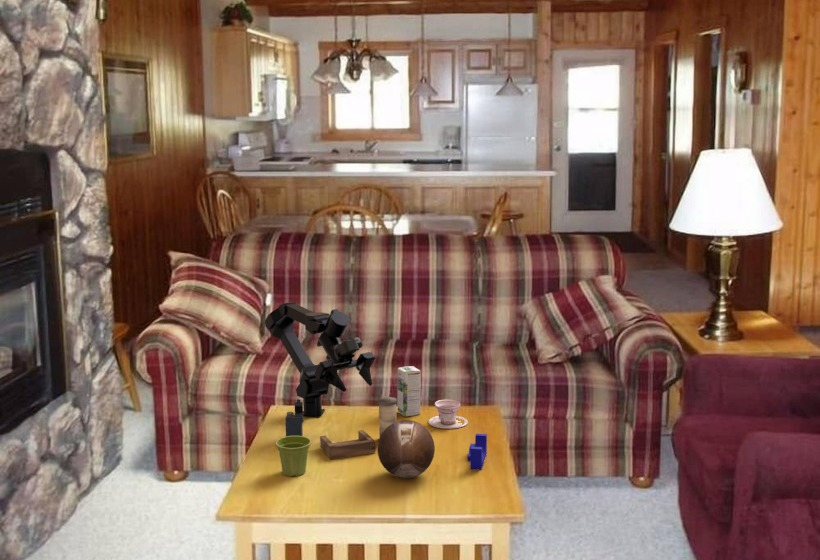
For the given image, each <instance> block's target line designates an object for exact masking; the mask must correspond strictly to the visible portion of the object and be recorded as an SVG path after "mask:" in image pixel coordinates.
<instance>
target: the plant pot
mask: <svg viewBox="0 0 820 560" xmlns="http://www.w3.org/2000/svg"><path fill="white" fill-rule="evenodd" d="M311 444H312V440H311V438H309V437H307V436H304V435H303V436H287V437H286V436H283V437H280V438H278V439H277V440H276V441H275V445H276V447H277V450H278V452H279V458H280V464H281V471H282V474H283V475H284V476H288V477H293V476H297V477H300V476H302V474H303V475H304V474H305V473H306V471H307V464H308V463H307V462H308V453H309V449H310V445H311ZM299 475H300V476H299Z"/></svg>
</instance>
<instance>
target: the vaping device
mask: <svg viewBox="0 0 820 560" xmlns="http://www.w3.org/2000/svg"><path fill="white" fill-rule="evenodd" d="M303 411H304V409H303V401H301V399H299V398H298V399H296V401H295V402H294V412H293V411H287V412H286V415H285V419H284V421H285V437H287V436H304V434H303V431H304V430H303V423H304V420H305V419H304V416H303Z"/></svg>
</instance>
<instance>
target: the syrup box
mask: <svg viewBox="0 0 820 560" xmlns="http://www.w3.org/2000/svg"><path fill="white" fill-rule="evenodd" d="M421 374H422V373H421V370H420V369H418V368H416V367H415V366H413V365H412V366H410V365H409V366H401V367H398V368H397V413H399V414H400V415H402V416H403V417H410V416H417V415H421V404H422V403H421V395H422V393H421V392H422V391H421V384H422V383H421V382H422V381H421V380H422V379H421V376H422V375H421Z"/></svg>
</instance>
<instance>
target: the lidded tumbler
mask: <svg viewBox="0 0 820 560" xmlns="http://www.w3.org/2000/svg"><path fill="white" fill-rule="evenodd" d="M397 404H398V398H395V397H393V396H385V397H384V396H383V397H380V398H379V399H378V420H379V421H378V422H379V423H378V425H379V429H378V430H379V432H378V433H379V437H380V436H381V434H382V433H383V431H384V430H385V429H386V428H387V427H388V426H389V425H391V424H393V423H395V422H397Z"/></svg>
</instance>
